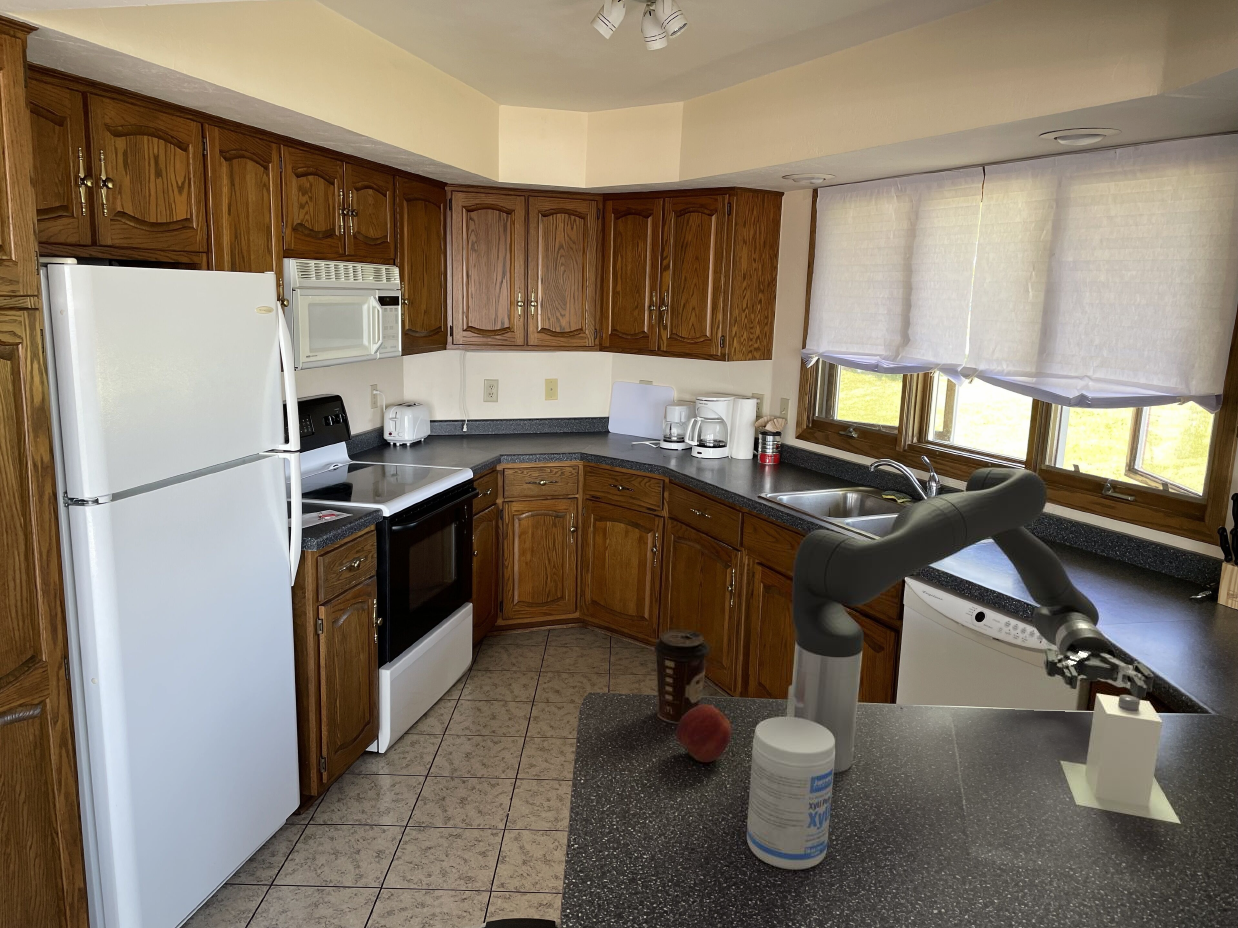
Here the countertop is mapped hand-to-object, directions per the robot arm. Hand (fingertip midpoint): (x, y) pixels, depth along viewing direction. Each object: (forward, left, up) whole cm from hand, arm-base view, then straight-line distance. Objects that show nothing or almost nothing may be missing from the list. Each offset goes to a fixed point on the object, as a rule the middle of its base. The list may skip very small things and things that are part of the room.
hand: (1107, 687), depth 126 cm
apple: (-59, -7, -11) cm, 60 cm away
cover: (-3, -10, -10) cm, 15 cm away
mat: (-3, -11, -11) cm, 16 cm away
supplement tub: (-50, -27, -11) cm, 57 cm away
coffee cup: (-62, +6, -11) cm, 63 cm away
